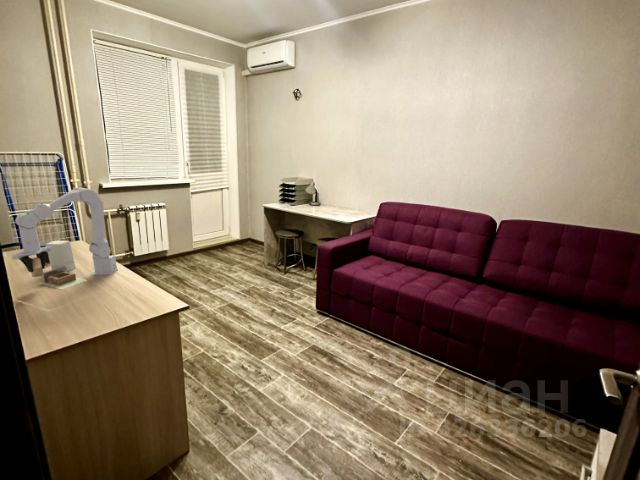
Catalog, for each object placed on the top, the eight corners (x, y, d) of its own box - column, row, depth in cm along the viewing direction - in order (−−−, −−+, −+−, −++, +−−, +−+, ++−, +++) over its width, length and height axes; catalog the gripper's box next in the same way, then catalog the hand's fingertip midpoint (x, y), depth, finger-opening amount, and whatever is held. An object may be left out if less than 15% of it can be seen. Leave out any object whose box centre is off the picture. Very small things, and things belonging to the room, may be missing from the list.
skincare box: (76, 268, 178) (71, 240, 174) (65, 273, 172) (60, 244, 168) (61, 267, 179) (56, 239, 175) (50, 272, 173) (44, 243, 168)
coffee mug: (43, 258, 191) (39, 242, 188) (61, 257, 194) (58, 240, 192) (36, 265, 181) (33, 247, 178) (56, 263, 184) (53, 246, 182)
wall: (67, 276, 167) (65, 266, 166) (45, 283, 158) (43, 273, 157) (65, 275, 168) (63, 266, 166) (43, 282, 159) (41, 272, 157)
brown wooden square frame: (76, 279, 163) (75, 273, 162) (58, 285, 156) (57, 279, 155) (65, 276, 166) (64, 271, 165) (47, 282, 159) (46, 276, 158)
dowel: (45, 273, 154) (42, 257, 151) (39, 276, 150) (36, 260, 148) (35, 273, 153) (32, 257, 151) (29, 277, 149) (26, 260, 147)
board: (87, 281, 163) (87, 280, 163) (61, 290, 153) (61, 289, 153) (67, 276, 169) (67, 274, 169) (40, 284, 158) (40, 283, 158)
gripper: (16, 246, 139) (23, 277, 143) (54, 238, 152) (59, 266, 156) (6, 244, 142) (13, 274, 145) (44, 236, 155) (50, 264, 158)
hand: (36, 270), depth 151 cm, fingers closed on dowel, 4 cm apart
